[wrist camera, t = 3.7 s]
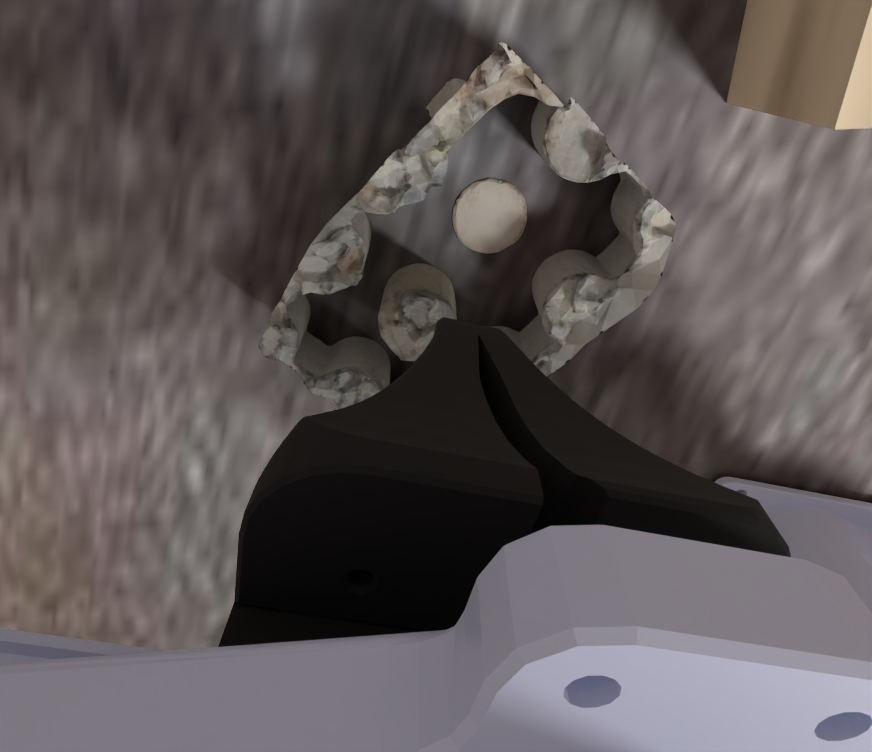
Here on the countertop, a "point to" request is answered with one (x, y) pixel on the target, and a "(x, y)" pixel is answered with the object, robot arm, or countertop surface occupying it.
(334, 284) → the grey lobed hollow piece
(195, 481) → the countertop surface
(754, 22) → the maple block
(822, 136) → the countertop surface
